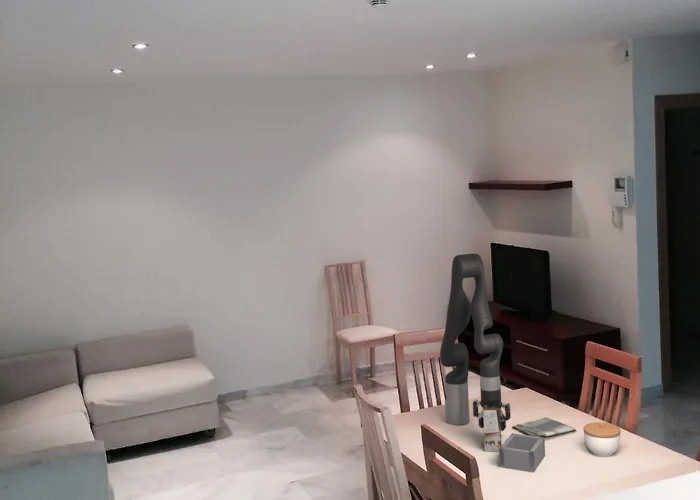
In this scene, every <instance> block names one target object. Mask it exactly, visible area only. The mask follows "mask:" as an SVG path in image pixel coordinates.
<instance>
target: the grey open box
mask: <svg viewBox="0 0 700 500" xmlns="http://www.w3.org/2000/svg"><path fill="white" fill-rule="evenodd" d="M545 441H546V440H545V438H544V437H536V436H529V435H526V434H522V433H521V434H519V433H513V432H512V433H511V434H509V436H508V437H507V439H505V441H504V442H503V443H501V447H500V448H499V452H498V454H499V468H503V469H509V470H516V471H521V472H527V473H536V470H537V469H538V467H539V466H540V464H541V463H542V462H543V460H544V459H545V457H546V445H545Z"/></svg>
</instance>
